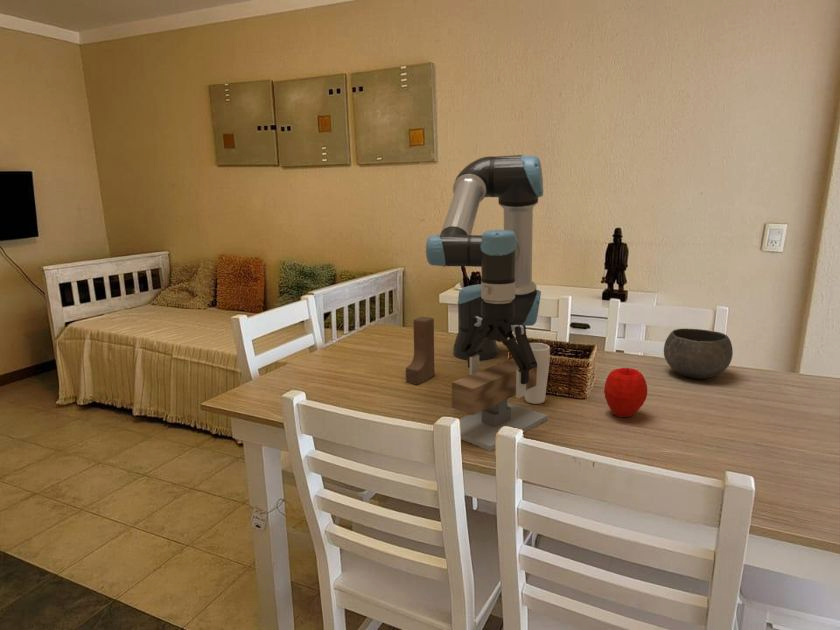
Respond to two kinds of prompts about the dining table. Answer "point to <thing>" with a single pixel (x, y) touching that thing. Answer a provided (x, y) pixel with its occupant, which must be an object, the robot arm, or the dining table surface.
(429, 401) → the dining table surface
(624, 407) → the apple
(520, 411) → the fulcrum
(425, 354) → the wooden block
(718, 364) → the bowl
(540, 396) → the drinking glass
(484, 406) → the beam
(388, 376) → the dining table surface
